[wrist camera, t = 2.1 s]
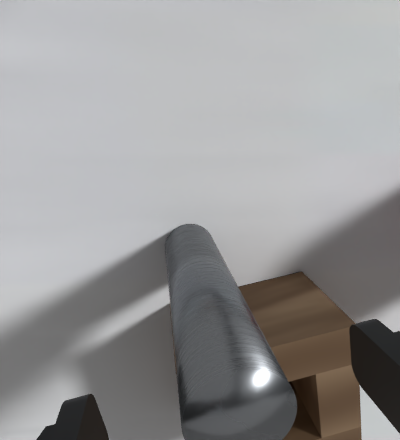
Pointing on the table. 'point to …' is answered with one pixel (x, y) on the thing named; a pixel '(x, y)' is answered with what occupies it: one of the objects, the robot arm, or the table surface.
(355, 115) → the table surface
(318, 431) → the socket block
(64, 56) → the table surface
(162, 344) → the table surface
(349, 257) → the table surface
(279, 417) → the pin
